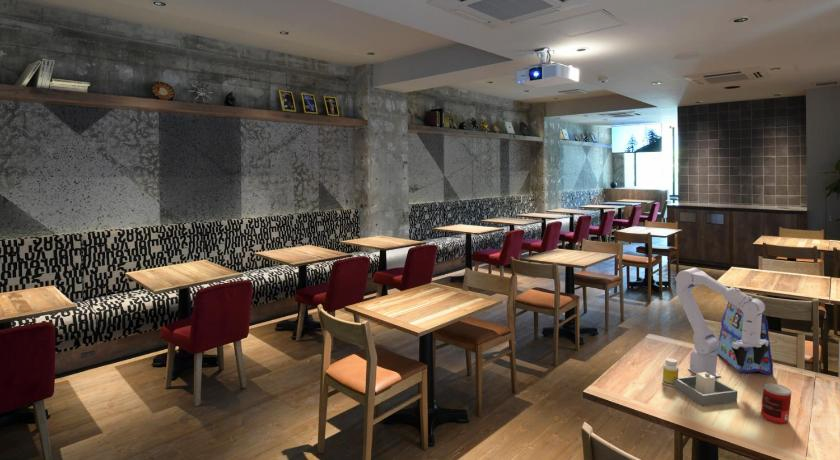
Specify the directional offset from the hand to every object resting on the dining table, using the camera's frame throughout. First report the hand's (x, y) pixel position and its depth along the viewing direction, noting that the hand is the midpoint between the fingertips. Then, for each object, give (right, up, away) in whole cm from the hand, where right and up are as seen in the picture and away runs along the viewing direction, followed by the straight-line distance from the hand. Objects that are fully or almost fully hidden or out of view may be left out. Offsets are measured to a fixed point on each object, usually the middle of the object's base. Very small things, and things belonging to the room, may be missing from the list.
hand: (748, 364), depth 187 cm
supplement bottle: (-27, -9, +6) cm, 29 cm away
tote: (-19, -10, -4) cm, 22 cm away
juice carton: (-19, -10, -4) cm, 22 cm away
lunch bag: (+13, -6, +23) cm, 27 cm away
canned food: (-5, -13, -21) cm, 25 cm away
